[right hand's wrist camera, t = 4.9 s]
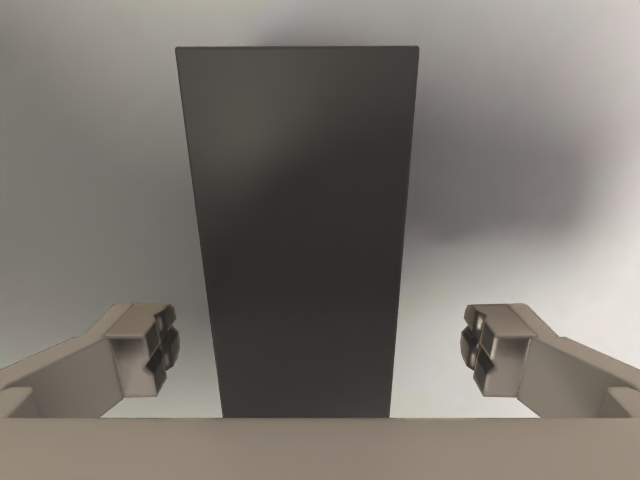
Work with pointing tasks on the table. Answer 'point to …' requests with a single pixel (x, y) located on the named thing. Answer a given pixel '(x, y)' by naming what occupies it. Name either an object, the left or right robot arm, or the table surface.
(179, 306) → the table surface
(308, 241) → the bar
